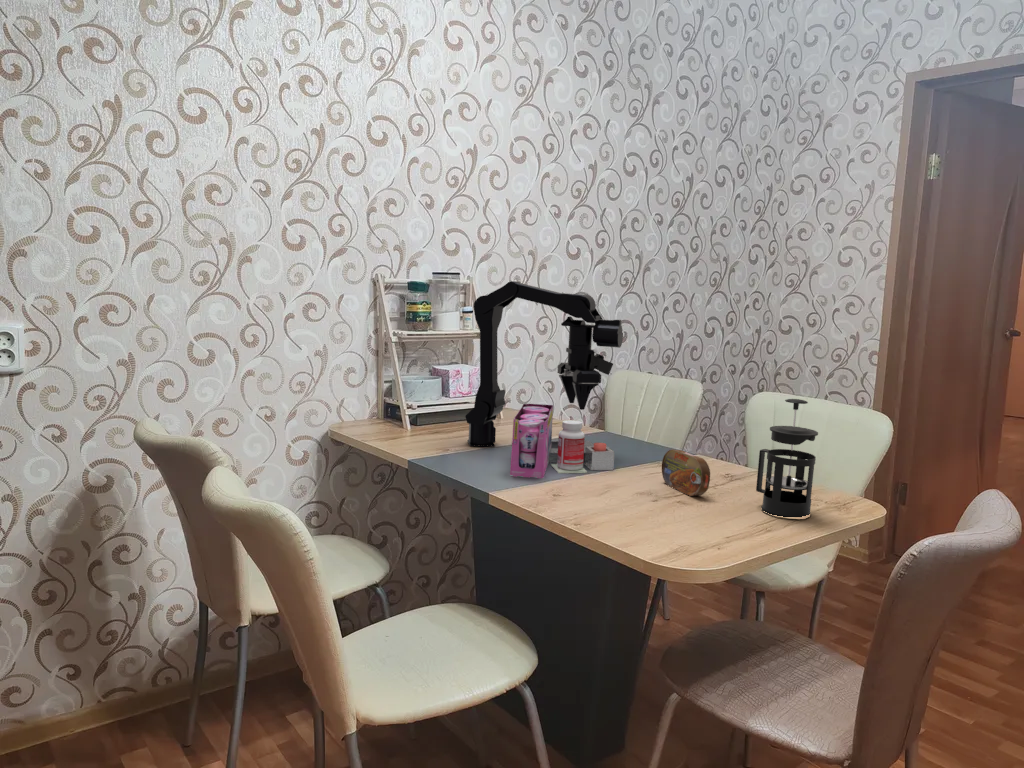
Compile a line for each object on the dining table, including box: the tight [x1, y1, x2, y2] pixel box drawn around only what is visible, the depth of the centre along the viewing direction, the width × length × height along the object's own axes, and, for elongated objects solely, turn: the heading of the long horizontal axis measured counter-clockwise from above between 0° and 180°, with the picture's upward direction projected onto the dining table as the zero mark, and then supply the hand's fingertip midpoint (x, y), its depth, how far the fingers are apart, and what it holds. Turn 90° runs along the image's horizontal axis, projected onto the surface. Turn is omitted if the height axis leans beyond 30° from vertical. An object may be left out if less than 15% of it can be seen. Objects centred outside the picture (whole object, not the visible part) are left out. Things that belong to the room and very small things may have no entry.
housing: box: [584, 445, 615, 471], centre depth 173 cm, size 6×6×4 cm
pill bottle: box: [556, 419, 586, 470], centre depth 170 cm, size 6×6×11 cm
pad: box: [550, 463, 588, 474], centre depth 171 cm, size 7×7×1 cm
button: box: [593, 442, 607, 451], centre depth 173 cm, size 3×3×3 cm
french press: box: [755, 398, 819, 517], centre depth 143 cm, size 12×9×23 cm
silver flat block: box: [548, 440, 594, 464], centre depth 183 cm, size 16×13×2 cm
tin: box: [661, 449, 711, 497], centre depth 156 cm, size 15×3×8 cm, turn 21°
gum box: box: [509, 403, 554, 479], centre depth 172 cm, size 24×8×14 cm, turn 173°
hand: (576, 406), depth 182 cm, fingers open, 9 cm apart
